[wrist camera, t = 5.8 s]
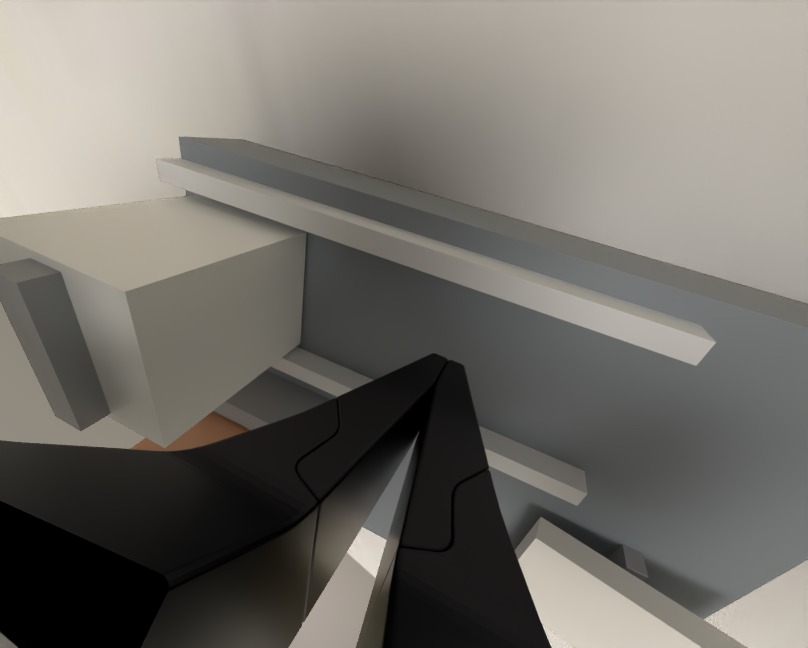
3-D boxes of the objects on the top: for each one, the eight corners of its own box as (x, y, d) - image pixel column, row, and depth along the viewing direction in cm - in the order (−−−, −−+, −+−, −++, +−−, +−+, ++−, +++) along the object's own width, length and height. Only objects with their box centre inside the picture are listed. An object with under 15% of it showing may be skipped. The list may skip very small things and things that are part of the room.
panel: (933, 340, 8) (1286, 511, 4) (610, 596, 15) (632, 740, 12) (242, 139, 12) (104, 133, 8) (253, 417, 19) (183, 480, 16)
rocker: (766, 660, 9) (778, 698, 8) (680, 696, 11) (683, 729, 10) (540, 516, 11) (535, 537, 10) (501, 567, 13) (495, 588, 12)
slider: (306, 232, 10) (82, 305, 5) (300, 343, 12) (137, 469, 7) (198, 194, 10) (-81, 227, 6) (210, 304, 13) (11, 394, 8)
